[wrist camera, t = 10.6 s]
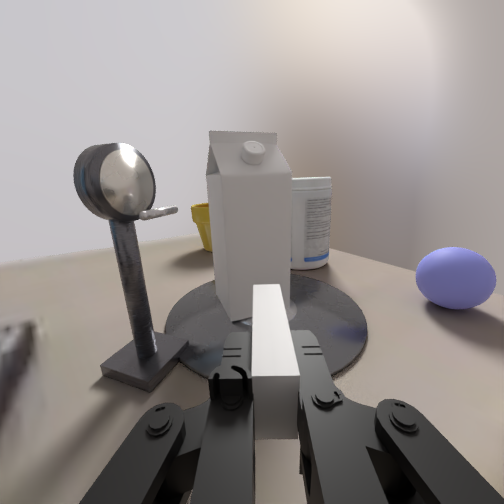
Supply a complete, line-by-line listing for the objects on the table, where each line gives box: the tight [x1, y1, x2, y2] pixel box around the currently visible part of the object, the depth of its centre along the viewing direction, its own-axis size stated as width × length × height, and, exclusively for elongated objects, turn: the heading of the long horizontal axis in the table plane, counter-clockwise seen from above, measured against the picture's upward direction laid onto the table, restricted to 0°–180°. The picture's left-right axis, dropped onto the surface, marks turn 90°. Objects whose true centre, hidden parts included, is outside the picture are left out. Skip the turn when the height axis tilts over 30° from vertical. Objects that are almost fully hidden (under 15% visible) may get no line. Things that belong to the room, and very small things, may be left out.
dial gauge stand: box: [74, 143, 189, 392], centre depth 18 cm, size 5×6×18 cm
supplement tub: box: [290, 177, 332, 270], centre depth 42 cm, size 10×10×15 cm
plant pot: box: [191, 203, 213, 252], centre depth 53 cm, size 10×10×10 cm
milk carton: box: [206, 131, 292, 321], centre depth 27 cm, size 7×7×19 cm
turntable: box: [166, 274, 367, 378], centre depth 28 cm, size 22×22×1 cm
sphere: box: [416, 247, 496, 309], centre depth 27 cm, size 7×7×7 cm
